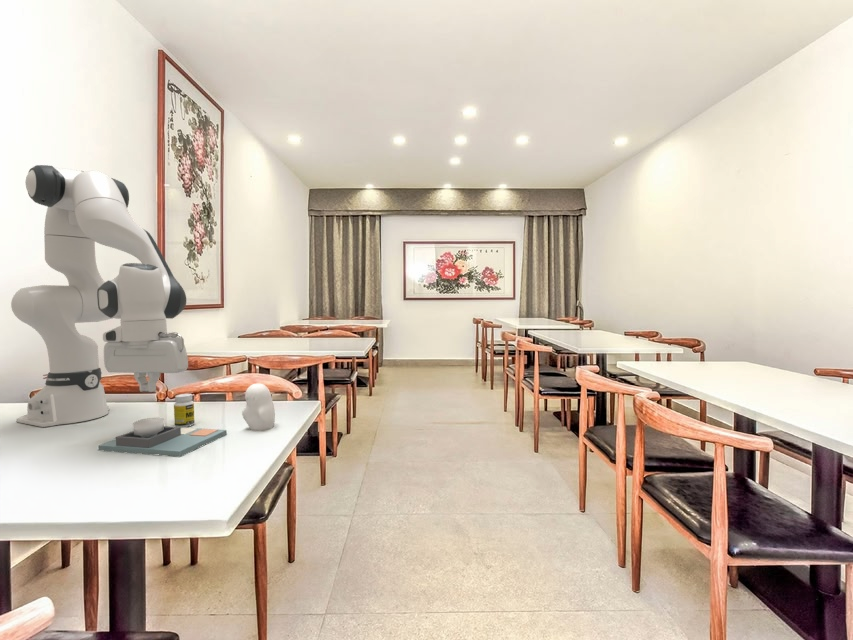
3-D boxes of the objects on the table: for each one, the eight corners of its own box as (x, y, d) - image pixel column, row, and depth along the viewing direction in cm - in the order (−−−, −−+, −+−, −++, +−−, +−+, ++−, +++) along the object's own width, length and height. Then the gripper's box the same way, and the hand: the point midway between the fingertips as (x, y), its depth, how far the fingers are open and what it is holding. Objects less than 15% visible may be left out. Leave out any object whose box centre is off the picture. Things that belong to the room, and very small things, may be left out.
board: (98, 450, 95) (97, 436, 95) (154, 430, 110) (153, 418, 110) (179, 456, 90) (179, 442, 90) (226, 434, 105) (226, 422, 105)
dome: (127, 441, 96) (126, 422, 95) (149, 433, 102) (148, 415, 101) (149, 442, 94) (148, 423, 94) (170, 434, 100) (169, 416, 100)
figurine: (239, 430, 108) (237, 385, 108) (259, 422, 116) (257, 379, 115) (262, 432, 106) (260, 386, 106) (281, 424, 113) (279, 380, 113)
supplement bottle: (188, 428, 111) (186, 397, 111) (170, 428, 111) (169, 397, 111) (198, 422, 116) (197, 393, 115) (181, 422, 116) (180, 393, 116)
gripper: (193, 331, 98) (196, 389, 98) (121, 332, 102) (125, 387, 102) (171, 333, 91) (174, 395, 92) (96, 334, 96) (100, 393, 96)
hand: (148, 391), depth 97 cm, fingers closed
